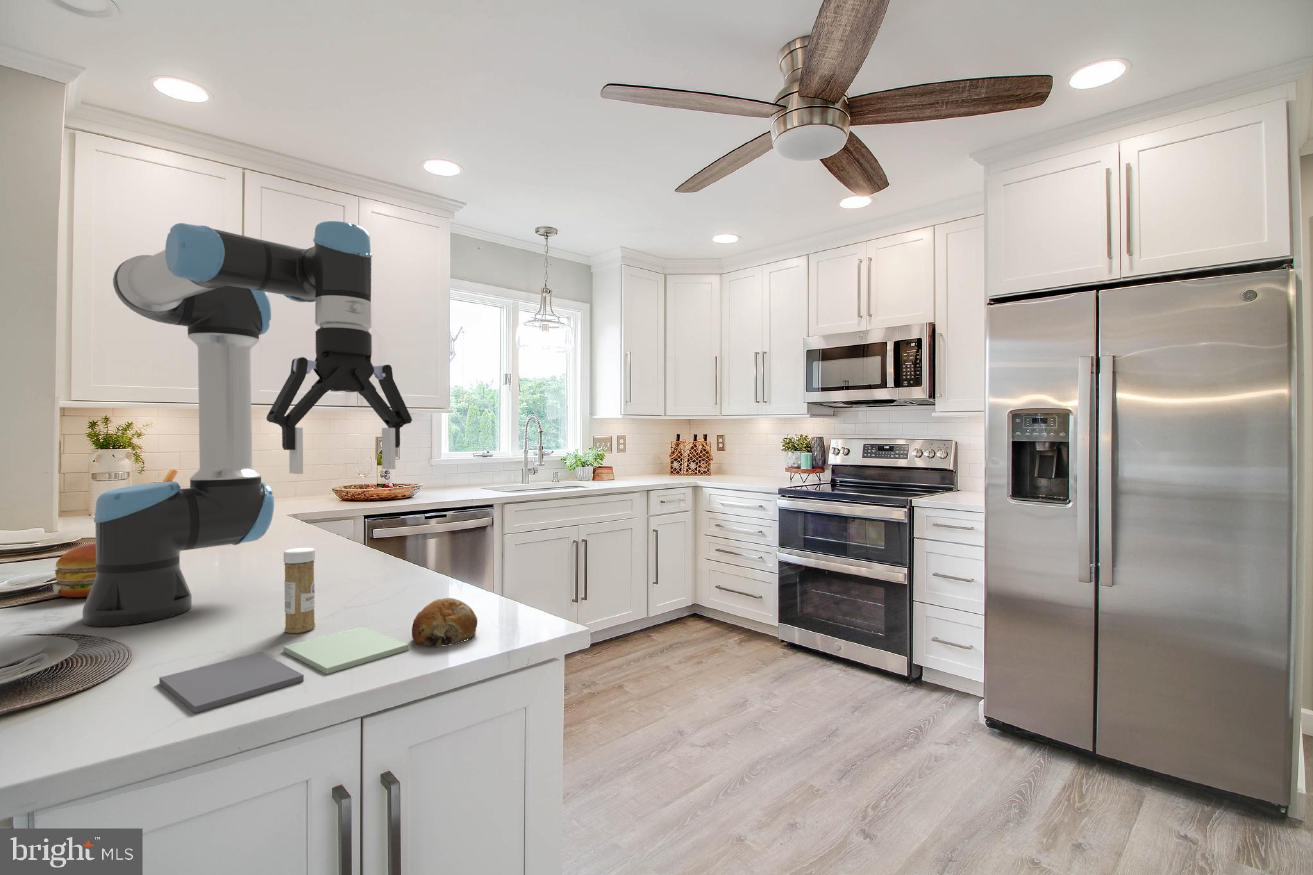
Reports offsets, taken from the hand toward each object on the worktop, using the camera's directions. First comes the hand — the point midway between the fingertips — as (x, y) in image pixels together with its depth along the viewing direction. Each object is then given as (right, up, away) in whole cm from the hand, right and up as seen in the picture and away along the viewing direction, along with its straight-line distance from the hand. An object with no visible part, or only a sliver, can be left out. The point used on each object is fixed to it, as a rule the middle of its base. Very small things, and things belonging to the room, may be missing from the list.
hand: (345, 471), depth 93 cm
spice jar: (-13, -27, +10) cm, 32 cm away
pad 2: (0, -27, +1) cm, 27 cm away
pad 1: (-9, -27, -11) cm, 31 cm away
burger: (-68, -27, +34) cm, 81 cm away
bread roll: (+13, -27, +7) cm, 31 cm away
